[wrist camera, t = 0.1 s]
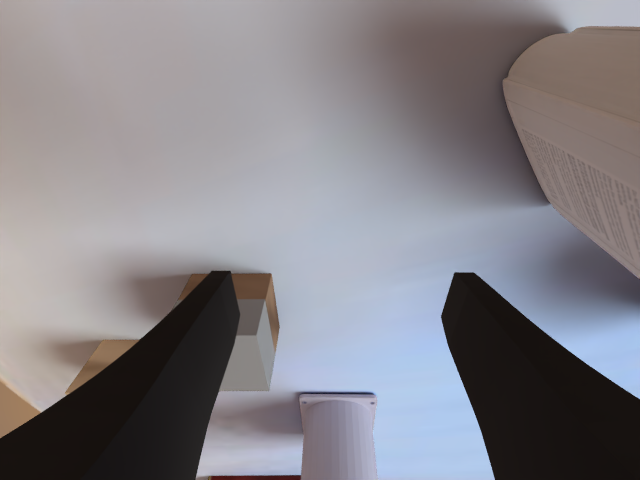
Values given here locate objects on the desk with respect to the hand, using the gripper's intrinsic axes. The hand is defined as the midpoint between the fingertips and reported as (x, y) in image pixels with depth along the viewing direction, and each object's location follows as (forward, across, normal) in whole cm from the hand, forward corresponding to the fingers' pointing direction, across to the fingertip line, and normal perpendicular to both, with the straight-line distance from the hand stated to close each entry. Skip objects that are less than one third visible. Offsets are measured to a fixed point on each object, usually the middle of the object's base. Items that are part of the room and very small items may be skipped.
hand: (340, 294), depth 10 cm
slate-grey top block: (+8, +8, +11) cm, 15 cm away
